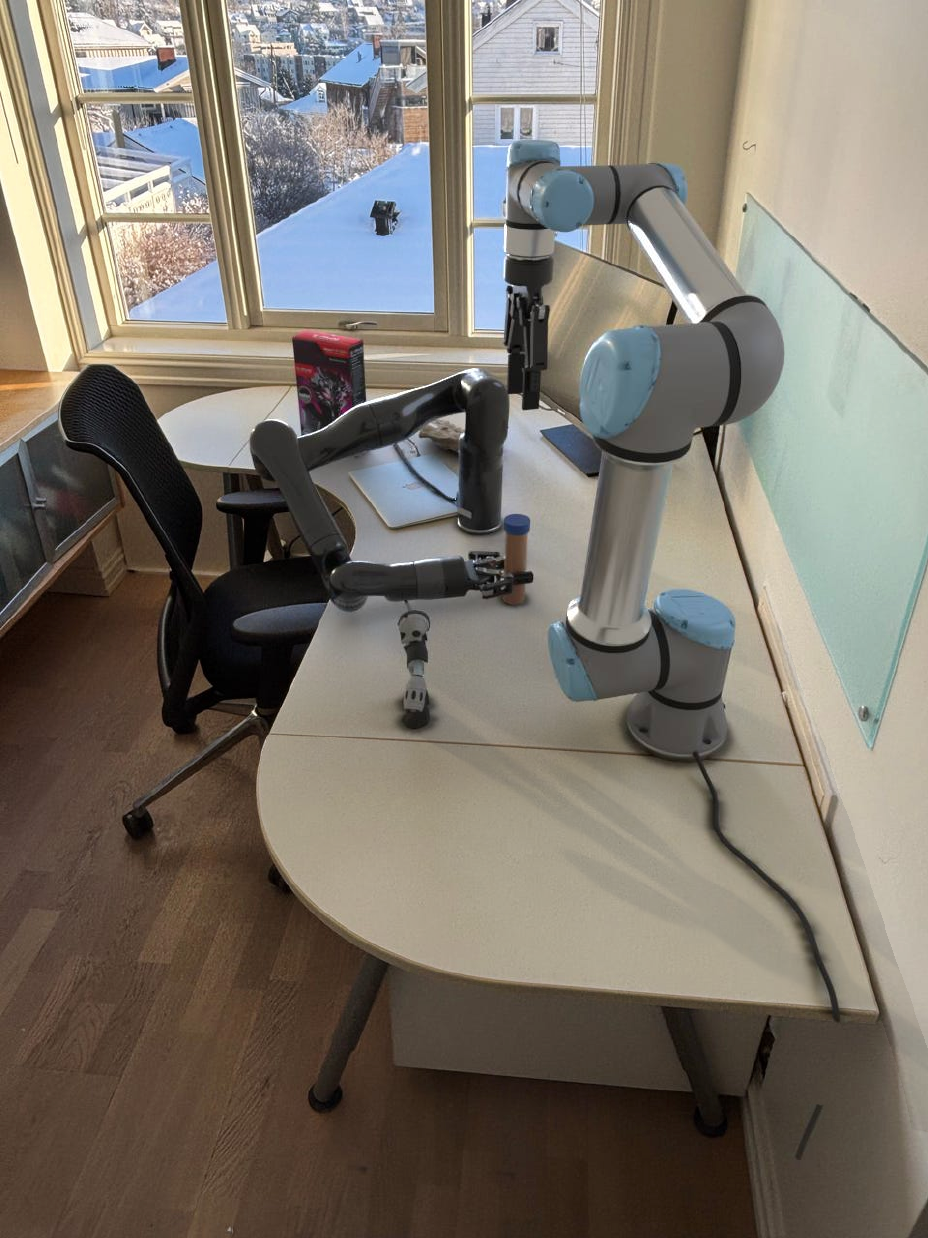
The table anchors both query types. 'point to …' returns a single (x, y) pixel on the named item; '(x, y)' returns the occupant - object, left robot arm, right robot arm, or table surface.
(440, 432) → the stone
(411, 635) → the robot
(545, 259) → the right robot arm
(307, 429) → the graphics card box
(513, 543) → the jar
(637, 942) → the table surface
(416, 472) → the left robot arm
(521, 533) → the lid
